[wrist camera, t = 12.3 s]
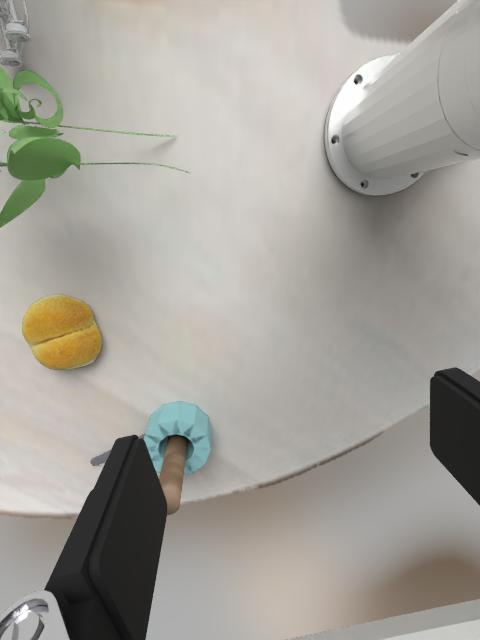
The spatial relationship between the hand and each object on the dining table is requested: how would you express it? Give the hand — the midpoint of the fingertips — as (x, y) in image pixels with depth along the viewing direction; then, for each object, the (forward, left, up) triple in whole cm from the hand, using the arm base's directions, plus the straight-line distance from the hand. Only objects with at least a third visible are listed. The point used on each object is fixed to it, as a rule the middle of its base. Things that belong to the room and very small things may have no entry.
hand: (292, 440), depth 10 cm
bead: (+12, +19, -28) cm, 36 cm away
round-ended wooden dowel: (+12, +19, -28) cm, 36 cm away
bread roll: (+21, +2, -29) cm, 36 cm away
